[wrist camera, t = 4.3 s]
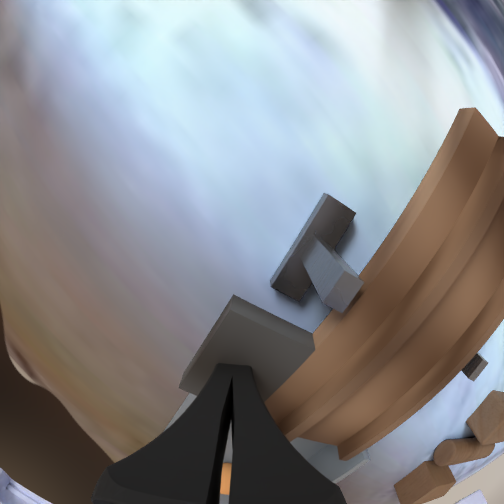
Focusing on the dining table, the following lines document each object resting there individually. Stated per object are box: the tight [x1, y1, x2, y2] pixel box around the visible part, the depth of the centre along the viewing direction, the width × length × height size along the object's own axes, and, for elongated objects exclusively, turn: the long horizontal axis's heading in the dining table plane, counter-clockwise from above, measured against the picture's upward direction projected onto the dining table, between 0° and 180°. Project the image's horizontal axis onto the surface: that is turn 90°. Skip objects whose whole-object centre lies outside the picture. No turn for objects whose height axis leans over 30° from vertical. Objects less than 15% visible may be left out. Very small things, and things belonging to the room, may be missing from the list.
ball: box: [220, 463, 232, 495], centre depth 17 cm, size 3×3×3 cm
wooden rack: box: [179, 108, 504, 461], centre depth 9 cm, size 16×12×3 cm
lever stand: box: [270, 193, 488, 381], centre depth 12 cm, size 5×11×6 cm, turn 60°
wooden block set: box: [394, 390, 504, 504], centre depth 18 cm, size 17×6×18 cm
